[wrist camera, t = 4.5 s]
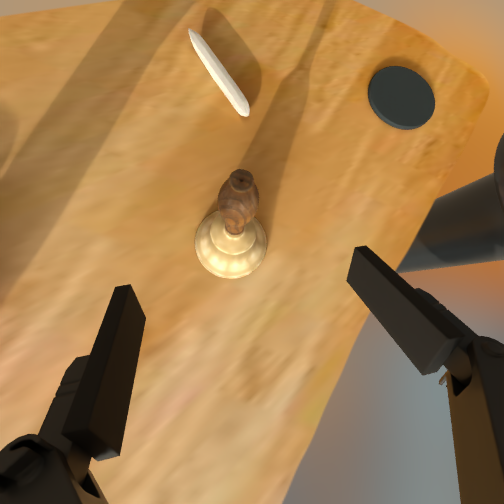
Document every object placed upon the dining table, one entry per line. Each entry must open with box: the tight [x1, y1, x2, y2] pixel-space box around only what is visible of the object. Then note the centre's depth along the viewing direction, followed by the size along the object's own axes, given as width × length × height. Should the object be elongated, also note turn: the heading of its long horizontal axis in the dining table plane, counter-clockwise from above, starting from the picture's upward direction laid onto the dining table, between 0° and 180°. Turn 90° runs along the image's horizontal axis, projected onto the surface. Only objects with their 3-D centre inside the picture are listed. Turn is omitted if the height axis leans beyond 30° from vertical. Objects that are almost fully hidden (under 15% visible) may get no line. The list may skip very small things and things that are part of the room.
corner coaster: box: [368, 66, 435, 130], centre depth 34 cm, size 10×10×1 cm
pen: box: [188, 28, 250, 116], centre depth 31 cm, size 2×14×2 cm, turn 34°
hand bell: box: [195, 169, 267, 279], centre depth 20 cm, size 8×8×16 cm
